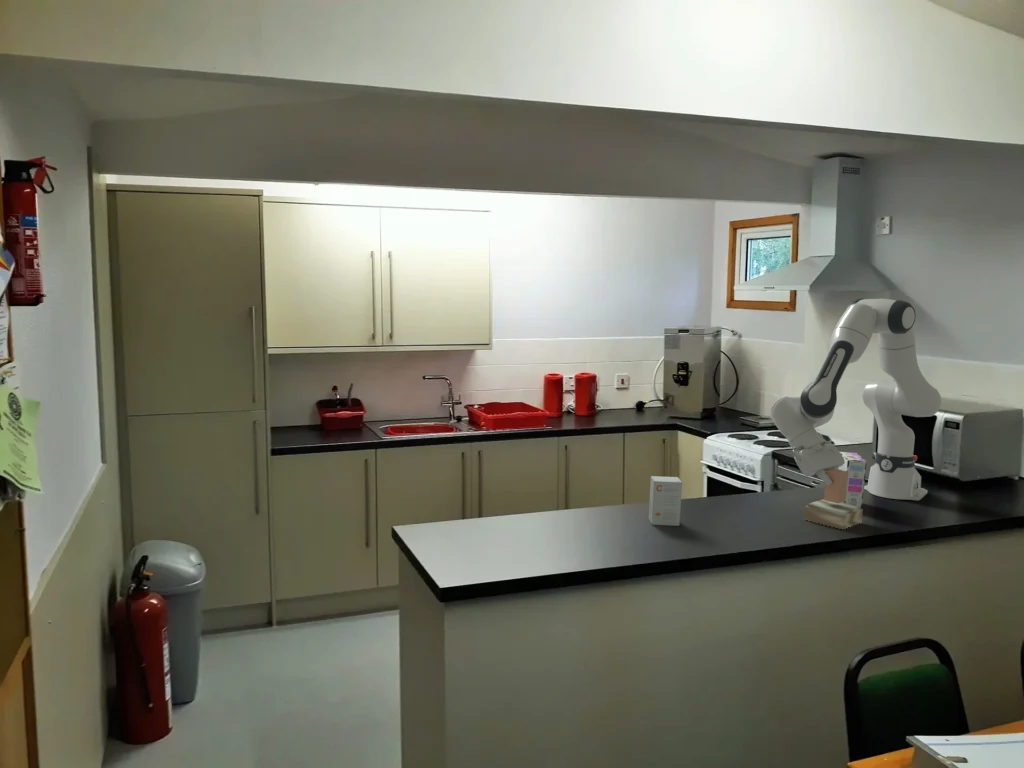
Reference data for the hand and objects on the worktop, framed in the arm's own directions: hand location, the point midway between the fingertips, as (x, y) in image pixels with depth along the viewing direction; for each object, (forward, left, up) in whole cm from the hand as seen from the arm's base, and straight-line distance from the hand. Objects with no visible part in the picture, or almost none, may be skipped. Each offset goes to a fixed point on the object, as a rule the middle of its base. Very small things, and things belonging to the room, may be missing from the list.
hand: (836, 482), depth 241 cm
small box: (+44, -29, -12) cm, 54 cm away
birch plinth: (0, 0, -12) cm, 12 cm away
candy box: (-22, -6, -12) cm, 26 cm away
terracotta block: (0, 0, -5) cm, 5 cm away
